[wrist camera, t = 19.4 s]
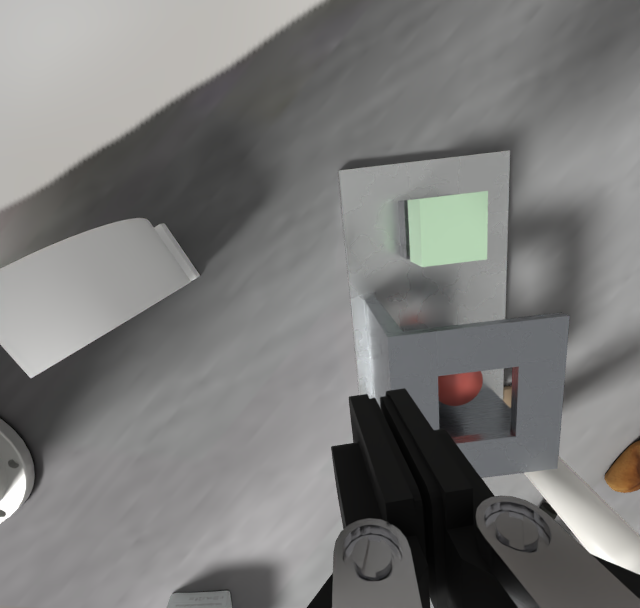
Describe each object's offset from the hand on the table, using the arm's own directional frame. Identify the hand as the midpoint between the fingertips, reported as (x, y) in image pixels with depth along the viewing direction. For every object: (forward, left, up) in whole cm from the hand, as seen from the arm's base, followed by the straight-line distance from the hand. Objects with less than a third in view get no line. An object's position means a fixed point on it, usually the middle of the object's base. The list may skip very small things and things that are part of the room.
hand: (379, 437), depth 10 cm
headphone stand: (-13, +4, -18) cm, 23 cm away
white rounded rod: (+14, -14, -17) cm, 26 cm away
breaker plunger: (+7, -5, -16) cm, 19 cm away
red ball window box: (+7, -1, -18) cm, 19 cm away
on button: (+7, +4, -16) cm, 18 cm away
